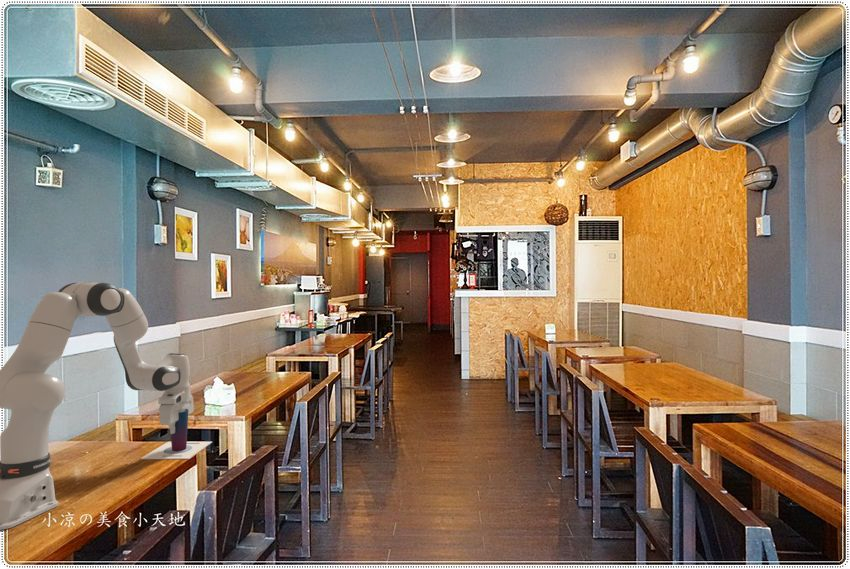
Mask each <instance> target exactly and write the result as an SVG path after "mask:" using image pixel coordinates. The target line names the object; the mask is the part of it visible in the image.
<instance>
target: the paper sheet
mask: <svg viewBox="0 0 850 569" xmlns="http://www.w3.org/2000/svg"><path fill="white" fill-rule="evenodd" d="M212 443H213V441H187V445H186V449H185V450H182V451H172V444H171V441H166V442H165V443H164V444H162V445H160V446H159V447H156V448H155V449H154V450H152V451H150V452H149V453H147V454H145V455H143V456H142V457H140V460H190V459H191V458H193V457H194V456H195V455H197V454H198V453H200V452H201V451H202V450H203V449H205V448H207V447H208V446H209V445H211V444H212Z"/></svg>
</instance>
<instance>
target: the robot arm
mask: <svg viewBox="0 0 850 569" xmlns="http://www.w3.org/2000/svg"><path fill="white" fill-rule="evenodd" d="M80 316H83V317H98V316H100V317H105V318H106V321H107V322H108V325H109V327H110V329H111V332H112V333H113V343H114V346H115V349H116V352H117V354H118V357H119V359H120V361H121V364H122V367H123V369H124V375H125V377H124V378H125V382H126V384H127V386H128V387H129V388H130V389H131V390H134V391H150V392H153V391H154V392H163V393H162V395H161V396H159V398H158V404H159V408H158V411H159V412H158V417H159V418H158V419H159V423H160V425H161V426H168V428H169V434H170V435H171V434H174V433H176V428H175V422H176V421H178V420H179V412H185V411H186V409H188V410H189V411H188V416H189V415H191V414H192V413H193V412H194V410H195V405H194V404H195V403H194V396H193V395H192V392H191V384H190V376H191V368H190V359H189V356H188V355H187V354H184V353H174V352H173V353H172V352H171V353H168V354H166V356H165V357H164V358H163V359H162V360H161V361H160V362H158V363H156V364H150V363H147V362H145V361H143V359H142V358H141V355H140V353H139V351H138V350H139V349H138V347H137V345H136V342H138V341H139V340H140V339H142V338H143V337H144V336H146V334H147V332H148V331H149V330H148V329H149V322H148V319H147V317H146V314H145V313H144V311H143V309H142V307H141V305H140V304H139V302H138V301H137V299H136V298H135V296H134V295H133V294H132V293H131V291H129V290H128V289H126V288H122V287H119V288H118V287H117V286H115V285H113V284H111V283H108V282H92V281H84V282H72V283H68V284H66V285H64V286H63V287H60V289H59V290H58V291H51V292H48V293H45V295H43V296H42V298H41V300H40V301H39V303H38V304H37V305H36V306H35V308H34V311H33V312H32V314H31V315H30V317H29V321H28V323H27V325H26V327H25V330H24V332H23V334H22V336H21V338H20V341H19V343H18V345H17V347H16V349H15V350H14V352H13V353H12V354H11V356H10V358H8V360H7V361H6V363H5V364H4V365H3V366H2V368H0V409H4V410H11V413H10V414H11V415H10V418H9V421H8V424H7V426H6V428H5V429H3V430H2V432H1V433H0V531H1V530H6V529H7V530H8V529H11V528H14V527H15V526H18V525H20V524H22V523H24V522H27V521H28V520H31V519H33V518H35V517H37V516H39V515H41V514H43V513H46V512H47V511H49V510H53V509H54V508H56V507H58V506H59V501H58V500H57V499H56V494H55V486H54V478H53V477H54V476H53V475H52V474H51V472H50V466H51V461H52V460H51V453H50V452H49V432H50V431H49V429H50V423H51V420H52V418H53V415H54V411H55V410H56V408H57V407H58V406H60V405H61V403H62V402H63V401H64V399H65V396H66V387H65V386H66V385H65V384H64V382H63V380H61V379H59V378H58V377H55V376H53V375H50V374H48V373H45V372H46V371H47V370H48V369H49V367H50V366H51V365H52V364H54V363H55V362H56V361H58V360H59V359H60V358H61V357H62V355H63V354H64V351H65V349H66V346H67V343H68V342H69V341H68V340H69V337H70V335H71V333H72V331H73V328H74V325H75V322H76V320H77V319H78V317H80Z"/></svg>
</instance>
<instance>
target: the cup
mask: <svg viewBox="0 0 850 569" xmlns="http://www.w3.org/2000/svg"><path fill="white" fill-rule="evenodd" d="M188 411H189V410H188V409H186V411H185V412H179V420H178V421H176V422H175V428H176V433H174V434H170V440H171V441H170V442H171V444H172V451H182V450H185V449H186V445H187V442H188V427H189V425H188V424H189V415H188Z"/></svg>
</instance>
